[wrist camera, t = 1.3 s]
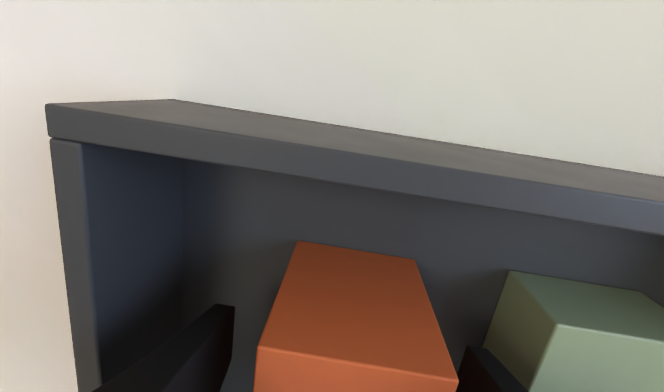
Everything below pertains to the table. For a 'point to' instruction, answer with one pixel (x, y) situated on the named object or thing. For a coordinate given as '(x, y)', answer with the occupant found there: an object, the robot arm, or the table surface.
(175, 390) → the robot arm
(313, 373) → the terracotta block
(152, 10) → the table surface
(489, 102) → the table surface
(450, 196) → the tub
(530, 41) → the table surface
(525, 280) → the sage block
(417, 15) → the table surface
